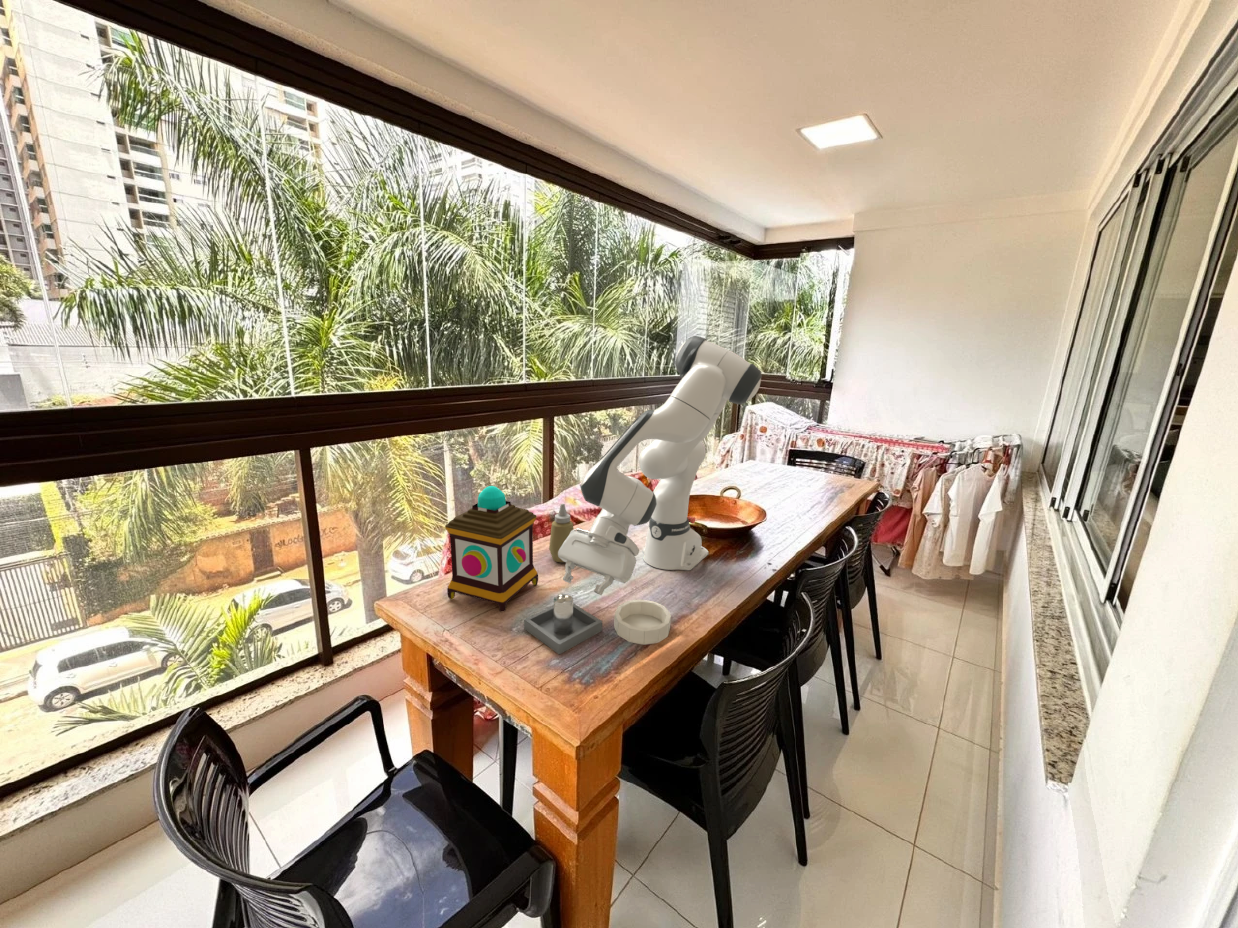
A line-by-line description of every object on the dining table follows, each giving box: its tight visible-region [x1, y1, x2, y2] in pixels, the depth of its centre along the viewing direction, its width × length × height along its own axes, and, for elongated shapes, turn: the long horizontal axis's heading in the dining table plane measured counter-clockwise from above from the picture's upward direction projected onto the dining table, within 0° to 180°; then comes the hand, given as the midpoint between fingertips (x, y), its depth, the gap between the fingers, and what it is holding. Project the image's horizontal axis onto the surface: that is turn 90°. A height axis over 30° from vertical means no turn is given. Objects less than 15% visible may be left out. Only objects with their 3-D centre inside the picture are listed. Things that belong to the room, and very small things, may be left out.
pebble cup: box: [553, 593, 574, 635], centre depth 116 cm, size 4×4×9 cm
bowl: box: [613, 599, 672, 645], centre depth 119 cm, size 13×13×4 cm
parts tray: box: [523, 603, 603, 655], centre depth 117 cm, size 13×13×4 cm
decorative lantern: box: [444, 485, 539, 612], centre depth 131 cm, size 20×20×30 cm
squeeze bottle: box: [548, 503, 575, 563], centre depth 152 cm, size 8×8×18 cm
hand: (581, 587), depth 119 cm, fingers open, 8 cm apart
